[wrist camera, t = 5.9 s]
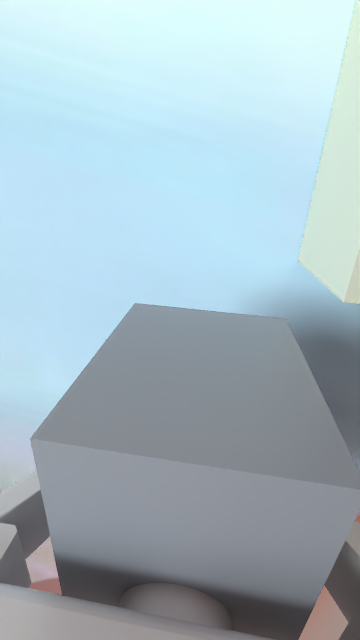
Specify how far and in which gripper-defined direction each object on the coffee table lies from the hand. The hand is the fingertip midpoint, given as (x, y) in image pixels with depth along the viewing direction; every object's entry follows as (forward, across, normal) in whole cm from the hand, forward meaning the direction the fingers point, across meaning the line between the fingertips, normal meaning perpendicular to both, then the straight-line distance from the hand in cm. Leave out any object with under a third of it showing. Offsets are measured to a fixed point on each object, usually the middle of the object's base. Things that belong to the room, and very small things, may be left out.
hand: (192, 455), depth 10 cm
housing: (+2, 0, 0) cm, 2 cm away
